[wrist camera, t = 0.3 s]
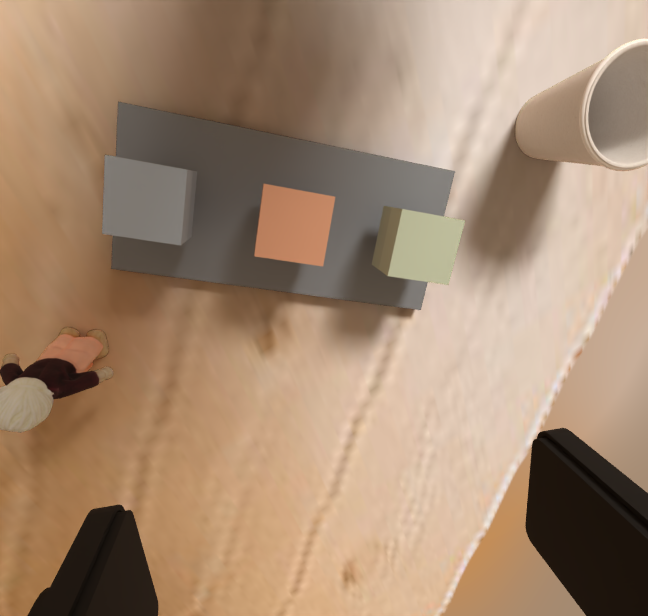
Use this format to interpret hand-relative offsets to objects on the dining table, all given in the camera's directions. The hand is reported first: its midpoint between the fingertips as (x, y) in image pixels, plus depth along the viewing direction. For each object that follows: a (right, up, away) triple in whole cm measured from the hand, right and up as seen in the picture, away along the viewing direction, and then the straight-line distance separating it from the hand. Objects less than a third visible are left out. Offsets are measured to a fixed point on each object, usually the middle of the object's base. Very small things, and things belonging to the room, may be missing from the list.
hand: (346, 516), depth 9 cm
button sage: (+6, +11, +26) cm, 29 cm away
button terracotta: (-3, +12, +24) cm, 27 cm away
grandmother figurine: (-22, +2, +28) cm, 36 cm away
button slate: (-13, +13, +22) cm, 29 cm away
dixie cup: (+20, +22, +29) cm, 41 cm away
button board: (-4, +13, +27) cm, 30 cm away
